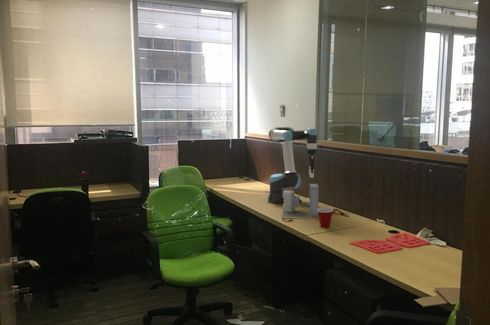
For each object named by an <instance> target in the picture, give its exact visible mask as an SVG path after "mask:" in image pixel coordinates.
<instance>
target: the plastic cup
mask: <svg viewBox="0 0 490 325" xmlns="http://www.w3.org/2000/svg"><path fill="white" fill-rule="evenodd" d="M317 211H318V218H319V219H318V220H319V225H320V228H324V229H329V228H330V226H331V221H332V217H333V212H334V208H332V207H325V206H324V207H318V209H317Z"/></svg>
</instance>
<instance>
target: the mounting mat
mask: <svg viewBox="0 0 490 325" xmlns="http://www.w3.org/2000/svg"><path fill="white" fill-rule="evenodd" d="M281 215H282V216H281V219H285V220H286V219H287V218H291V219H293V220H308V213H307V212H282V214H281ZM291 219H290V220H291ZM287 220H288V219H287Z"/></svg>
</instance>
